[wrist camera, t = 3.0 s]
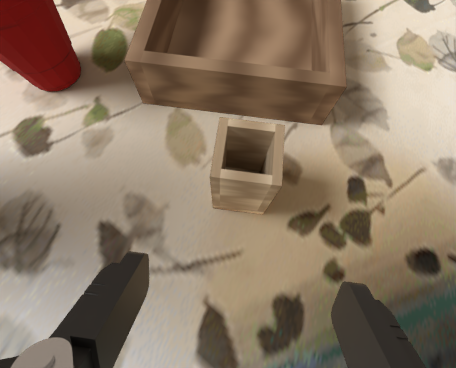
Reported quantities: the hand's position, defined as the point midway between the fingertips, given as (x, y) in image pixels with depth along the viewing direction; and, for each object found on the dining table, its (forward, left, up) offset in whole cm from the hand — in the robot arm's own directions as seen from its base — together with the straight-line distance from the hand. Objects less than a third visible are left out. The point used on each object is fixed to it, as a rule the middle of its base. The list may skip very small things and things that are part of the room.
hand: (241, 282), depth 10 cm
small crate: (0, +9, -13) cm, 15 cm away
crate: (-2, +29, -13) cm, 32 cm away
